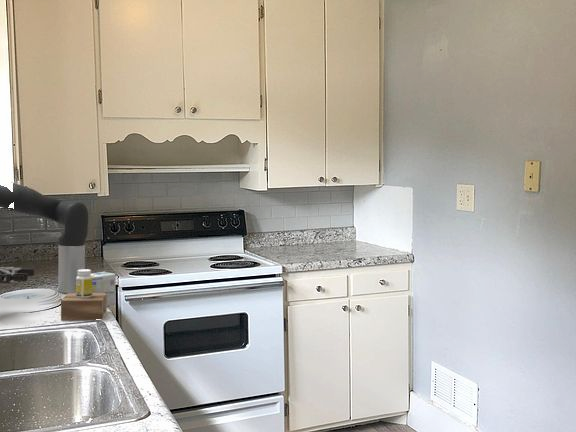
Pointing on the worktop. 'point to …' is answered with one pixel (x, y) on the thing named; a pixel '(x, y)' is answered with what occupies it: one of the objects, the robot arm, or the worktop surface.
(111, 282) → the light bulb box
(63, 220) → the robot arm
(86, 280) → the supplement bottle
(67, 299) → the walnut block
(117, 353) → the worktop surface
